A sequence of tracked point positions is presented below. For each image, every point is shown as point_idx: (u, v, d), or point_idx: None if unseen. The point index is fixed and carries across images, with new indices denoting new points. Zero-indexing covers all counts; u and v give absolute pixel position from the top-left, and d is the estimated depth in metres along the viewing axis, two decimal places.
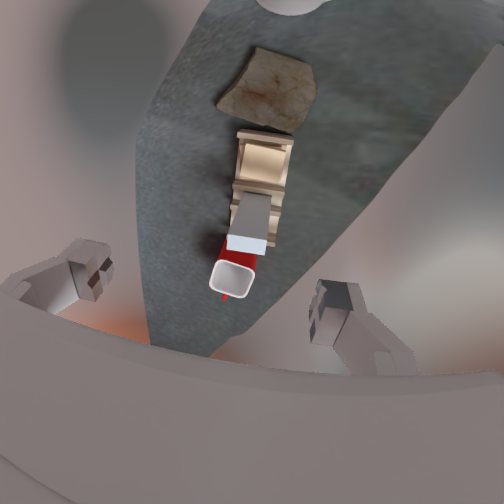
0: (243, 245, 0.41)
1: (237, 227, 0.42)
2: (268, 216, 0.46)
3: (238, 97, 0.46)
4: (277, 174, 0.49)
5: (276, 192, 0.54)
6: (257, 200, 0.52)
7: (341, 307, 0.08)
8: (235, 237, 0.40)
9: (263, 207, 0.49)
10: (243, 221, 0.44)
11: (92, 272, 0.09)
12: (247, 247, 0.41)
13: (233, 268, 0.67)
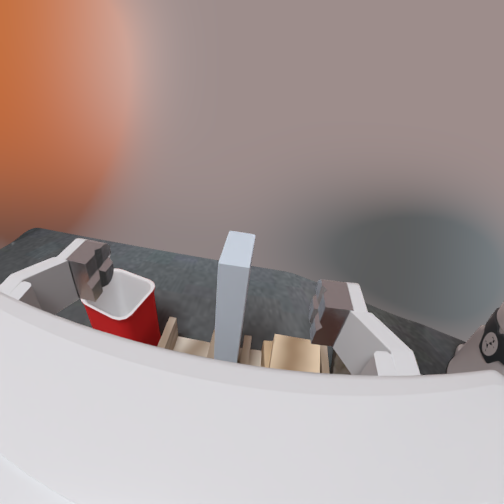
0: (236, 245, 0.25)
1: (251, 261, 0.28)
2: (240, 331, 0.27)
3: None
4: None
5: None
6: (238, 350, 0.32)
7: (341, 307, 0.08)
8: (250, 239, 0.26)
9: None
10: (248, 282, 0.28)
11: (92, 272, 0.09)
12: (233, 248, 0.25)
13: None
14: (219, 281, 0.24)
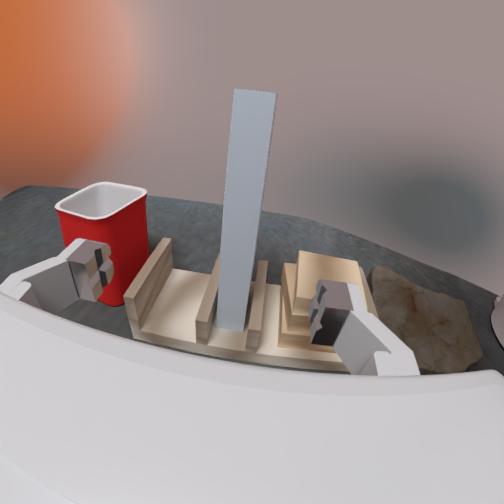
0: None
1: (273, 123, 0.20)
2: (260, 209, 0.19)
3: (400, 284, 0.32)
4: None
5: (258, 317, 0.23)
6: (253, 262, 0.25)
7: (341, 307, 0.08)
8: None
9: (255, 245, 0.22)
10: (269, 151, 0.21)
11: (92, 272, 0.09)
12: None
13: None
14: (234, 118, 0.16)
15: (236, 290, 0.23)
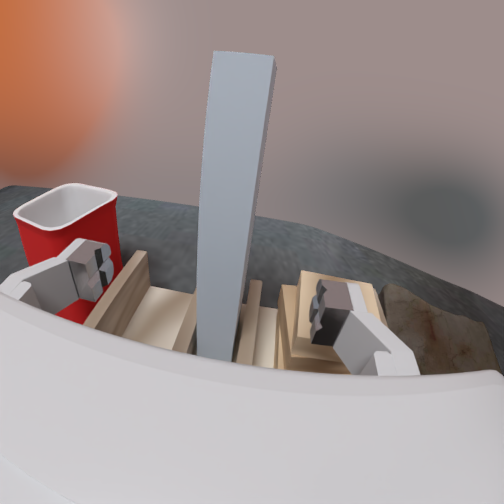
0: None
1: (270, 105, 0.15)
2: (250, 222, 0.14)
3: (416, 306, 0.26)
4: None
5: (247, 357, 0.18)
6: (242, 288, 0.19)
7: (341, 307, 0.08)
8: None
9: (244, 268, 0.17)
10: (264, 142, 0.15)
11: (92, 272, 0.09)
12: None
13: None
14: (213, 91, 0.10)
15: (220, 325, 0.17)
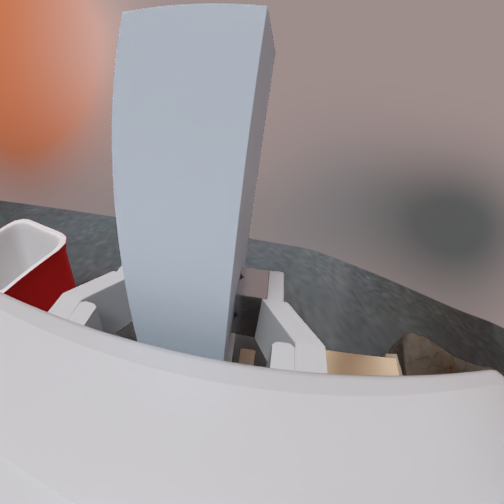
0: None
1: (263, 120, 0.08)
2: (225, 352, 0.07)
3: (439, 361, 0.20)
4: None
5: None
6: None
7: (253, 295, 0.08)
8: None
9: None
10: (253, 189, 0.09)
11: None
12: None
13: None
14: (121, 106, 0.04)
15: None
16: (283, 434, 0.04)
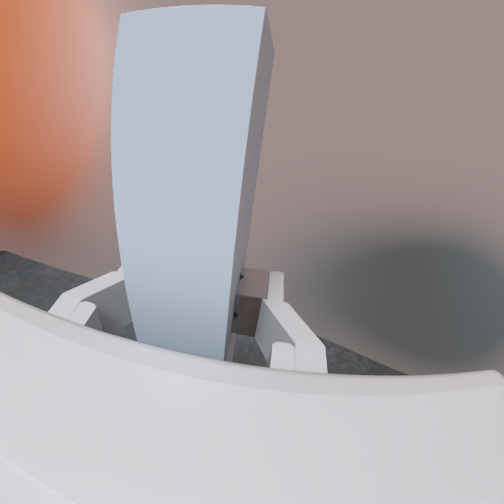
0: None
1: (263, 121, 0.08)
2: (225, 352, 0.07)
3: None
4: None
5: None
6: None
7: (253, 295, 0.08)
8: None
9: None
10: (252, 189, 0.09)
11: None
12: None
13: None
14: (120, 107, 0.04)
15: None
16: (283, 434, 0.04)
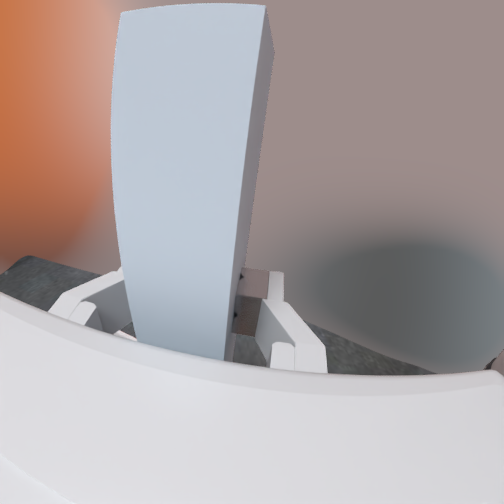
0: None
1: (263, 120, 0.08)
2: (225, 351, 0.07)
3: None
4: None
5: None
6: None
7: (253, 295, 0.08)
8: None
9: None
10: (252, 189, 0.09)
11: None
12: None
13: None
14: (120, 106, 0.04)
15: None
16: (283, 434, 0.04)
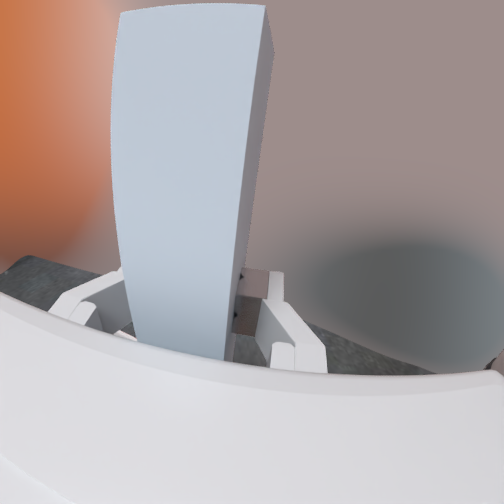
0: None
1: (263, 120, 0.08)
2: (225, 351, 0.07)
3: None
4: None
5: None
6: None
7: (253, 295, 0.08)
8: None
9: None
10: (252, 188, 0.09)
11: None
12: None
13: None
14: (120, 106, 0.04)
15: None
16: (283, 434, 0.04)
